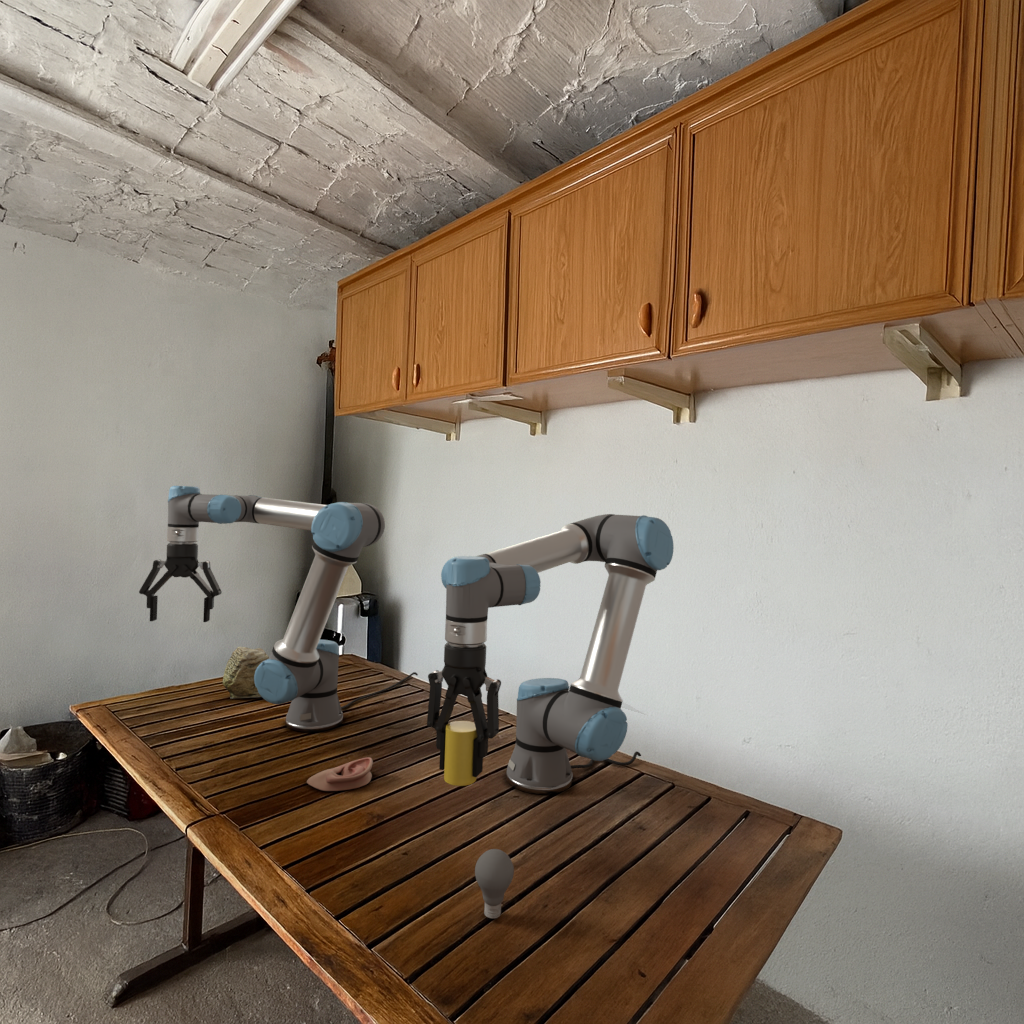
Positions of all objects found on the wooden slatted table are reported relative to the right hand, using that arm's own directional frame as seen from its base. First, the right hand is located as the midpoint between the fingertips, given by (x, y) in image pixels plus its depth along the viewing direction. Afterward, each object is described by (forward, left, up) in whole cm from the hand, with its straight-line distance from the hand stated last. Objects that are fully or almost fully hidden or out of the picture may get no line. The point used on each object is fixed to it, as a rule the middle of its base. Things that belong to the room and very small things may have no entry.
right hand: (460, 770), depth 114 cm
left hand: (+53, -85, +12) cm, 101 cm away
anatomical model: (+16, -36, -15) cm, 42 cm away
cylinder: (0, 0, -2) cm, 2 cm away
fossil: (+33, -105, -15) cm, 111 cm away
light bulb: (0, +18, -15) cm, 24 cm away
